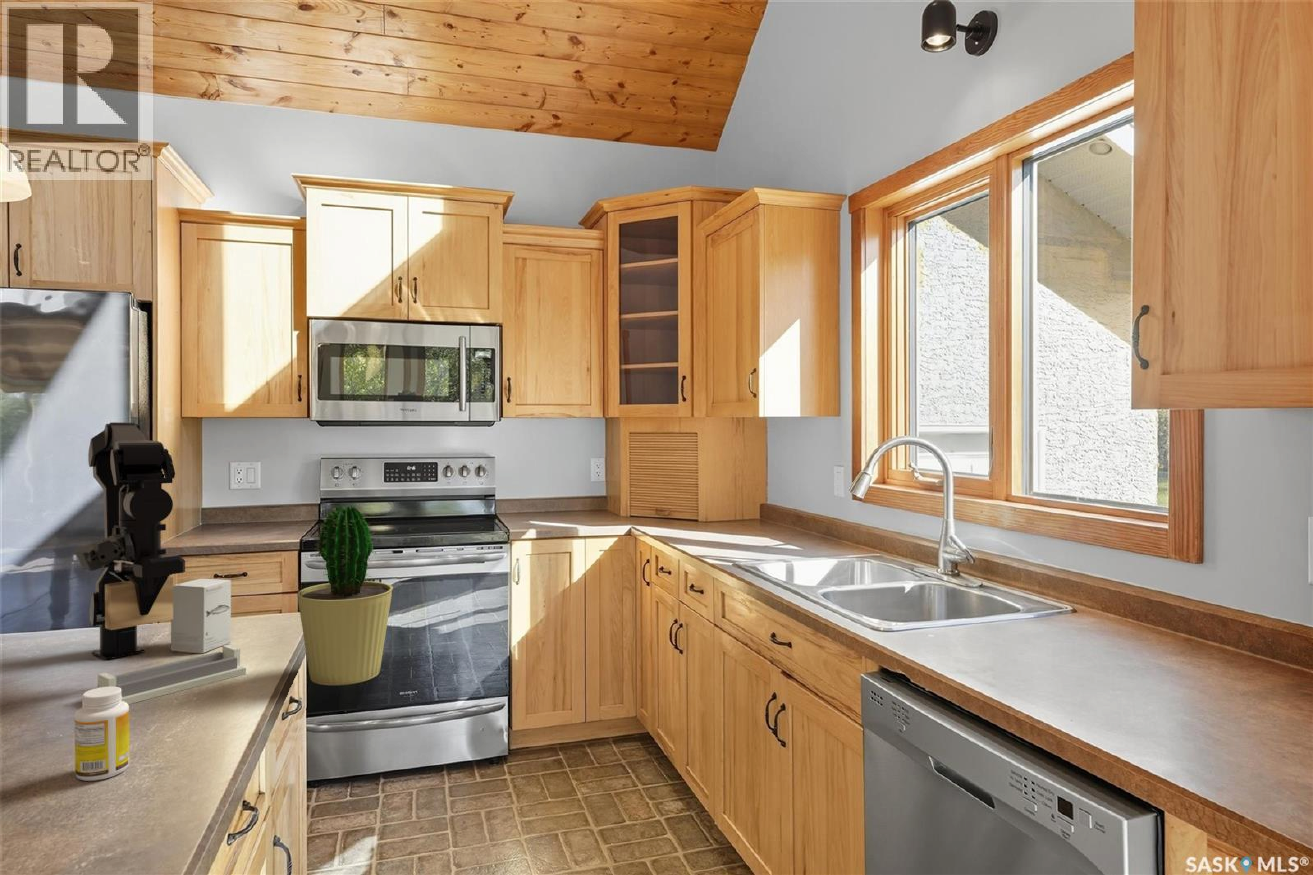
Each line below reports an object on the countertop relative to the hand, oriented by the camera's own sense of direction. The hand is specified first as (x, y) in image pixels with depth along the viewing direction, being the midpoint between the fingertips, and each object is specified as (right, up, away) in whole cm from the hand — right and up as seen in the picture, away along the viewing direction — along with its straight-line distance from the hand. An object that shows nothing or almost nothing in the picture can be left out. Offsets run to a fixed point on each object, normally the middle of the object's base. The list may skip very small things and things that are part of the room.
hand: (140, 613), depth 127 cm
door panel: (0, -2, 0) cm, 2 cm away
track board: (+4, -12, +1) cm, 13 cm away
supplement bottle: (+15, -13, -30) cm, 36 cm away
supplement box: (-3, -12, +22) cm, 26 cm away
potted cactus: (+30, -13, +8) cm, 34 cm away
